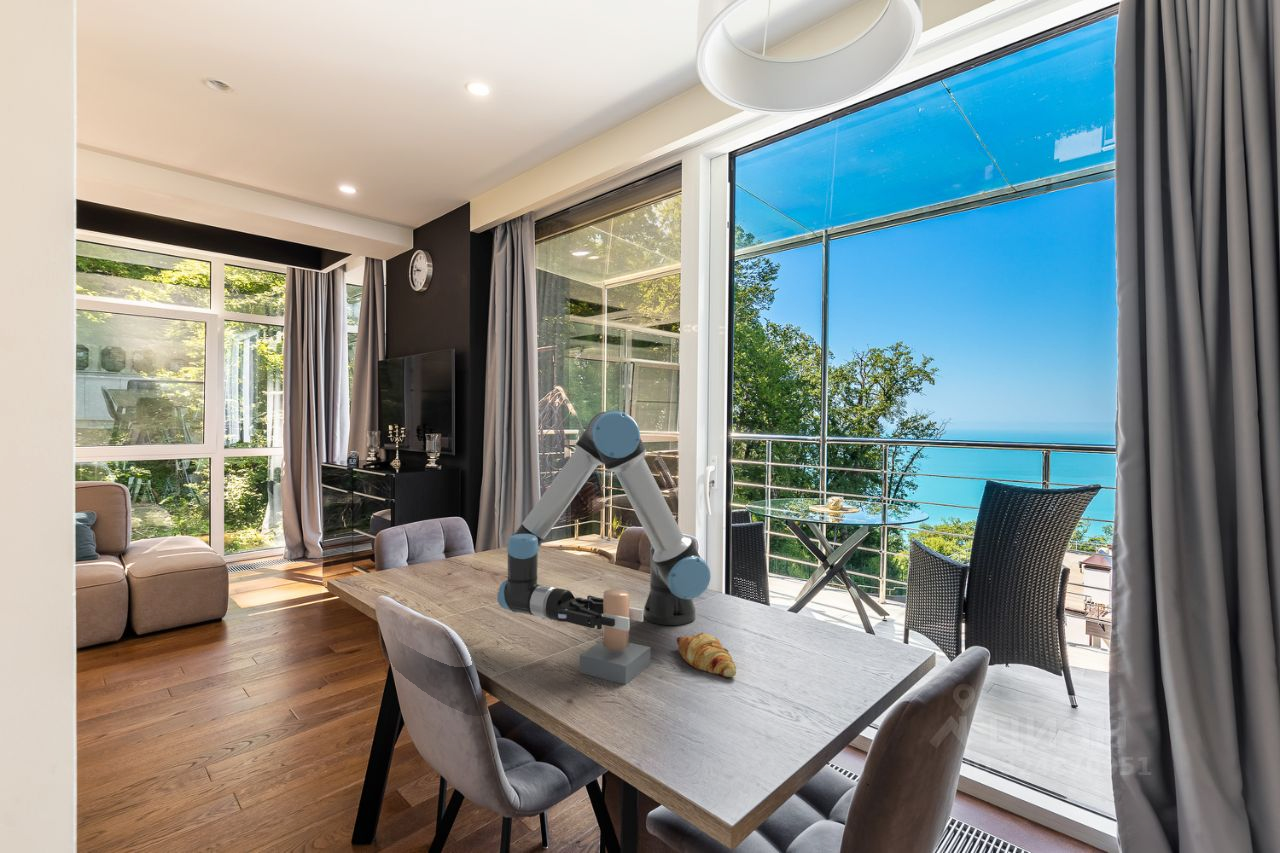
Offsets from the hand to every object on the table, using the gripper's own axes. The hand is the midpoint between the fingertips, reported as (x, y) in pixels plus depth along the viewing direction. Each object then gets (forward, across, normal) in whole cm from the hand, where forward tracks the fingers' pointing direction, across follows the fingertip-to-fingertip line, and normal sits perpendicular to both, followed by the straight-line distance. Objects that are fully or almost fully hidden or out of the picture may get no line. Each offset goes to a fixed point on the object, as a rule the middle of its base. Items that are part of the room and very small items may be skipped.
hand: (635, 619), depth 131 cm
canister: (-5, 0, -7) cm, 8 cm away
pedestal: (-5, 0, -12) cm, 13 cm away
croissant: (+12, -13, -13) cm, 21 cm away
